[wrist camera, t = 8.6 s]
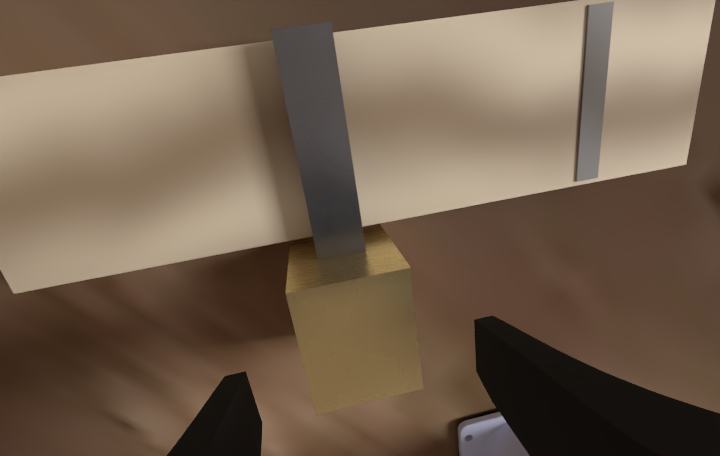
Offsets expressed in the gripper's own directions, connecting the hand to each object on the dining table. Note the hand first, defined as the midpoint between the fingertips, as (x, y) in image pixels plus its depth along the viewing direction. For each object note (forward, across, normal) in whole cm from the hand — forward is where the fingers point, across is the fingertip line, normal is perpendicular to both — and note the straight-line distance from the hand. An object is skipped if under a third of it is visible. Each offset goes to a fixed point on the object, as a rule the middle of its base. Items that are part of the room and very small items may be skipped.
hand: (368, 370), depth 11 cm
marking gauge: (+6, 0, -4) cm, 7 cm away
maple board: (+6, -2, -7) cm, 9 cm away
